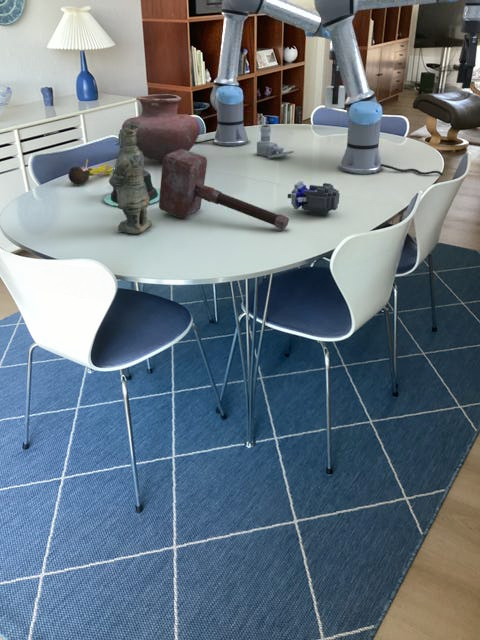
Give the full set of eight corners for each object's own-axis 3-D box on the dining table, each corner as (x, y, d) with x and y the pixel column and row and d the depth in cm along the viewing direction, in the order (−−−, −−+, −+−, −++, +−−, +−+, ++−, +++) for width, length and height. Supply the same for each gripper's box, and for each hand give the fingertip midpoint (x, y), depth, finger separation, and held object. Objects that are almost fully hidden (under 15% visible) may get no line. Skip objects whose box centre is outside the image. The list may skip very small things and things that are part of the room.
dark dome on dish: (91, 202, 180) (113, 186, 197) (142, 231, 182) (160, 212, 199) (107, 162, 172) (129, 148, 190) (160, 192, 174) (177, 176, 192)
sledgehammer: (299, 190, 156) (179, 147, 167) (285, 200, 148) (161, 154, 160) (286, 244, 166) (174, 200, 177) (272, 256, 158) (156, 209, 170)
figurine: (134, 159, 212) (83, 166, 193) (134, 179, 215) (84, 188, 196) (109, 155, 218) (58, 161, 199) (110, 174, 221) (59, 182, 202)
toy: (295, 178, 172) (342, 184, 166) (295, 205, 177) (340, 211, 171) (285, 186, 166) (333, 192, 160) (284, 213, 170) (331, 220, 164)
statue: (131, 220, 168) (117, 116, 152) (158, 224, 164) (147, 118, 149) (109, 233, 159) (93, 124, 144) (138, 237, 156) (124, 126, 140)
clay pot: (207, 152, 239) (204, 90, 226) (190, 171, 213) (185, 102, 200) (140, 150, 243) (133, 89, 231) (115, 169, 218) (106, 101, 205)
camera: (266, 123, 231) (294, 128, 223) (265, 151, 237) (293, 157, 229) (252, 126, 226) (281, 131, 217) (252, 155, 232) (280, 162, 223)
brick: (325, 108, 267) (326, 87, 262) (324, 106, 272) (325, 85, 267) (344, 108, 266) (345, 87, 261) (343, 106, 271) (344, 85, 266)
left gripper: (347, 51, 248) (343, 106, 259) (344, 48, 264) (340, 99, 276) (330, 52, 248) (327, 106, 260) (328, 48, 265) (325, 99, 276)
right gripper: (492, 21, 181) (479, 90, 192) (479, 18, 202) (468, 80, 213) (468, 21, 182) (456, 90, 193) (457, 18, 204) (447, 80, 214)
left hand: (334, 102), depth 268 cm, fingers closed on brick, 6 cm apart
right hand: (462, 85), depth 203 cm, fingers open, 13 cm apart
